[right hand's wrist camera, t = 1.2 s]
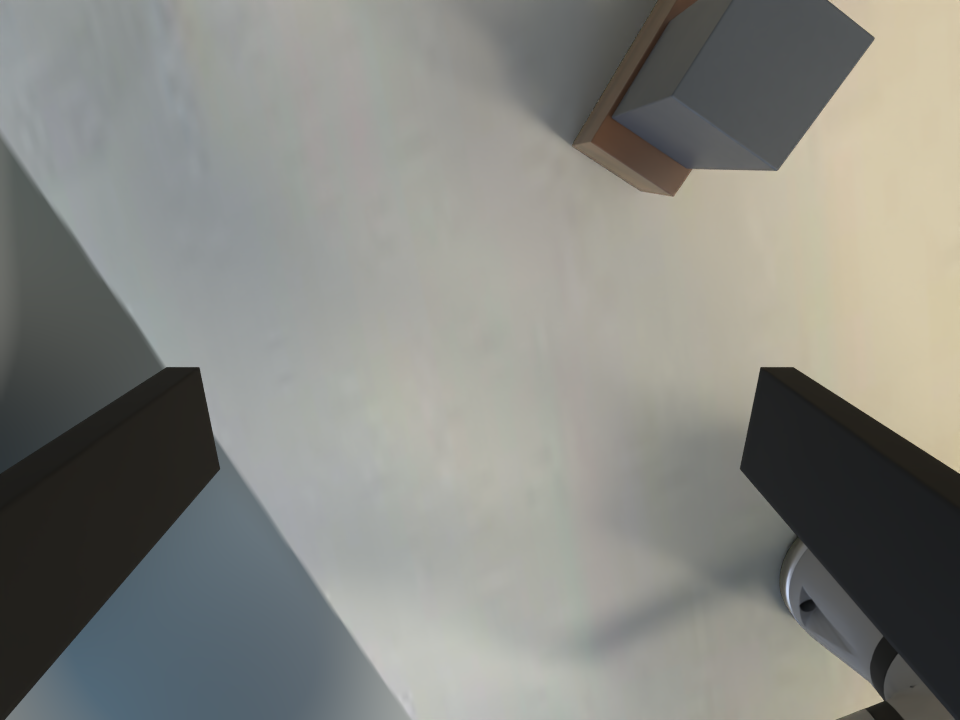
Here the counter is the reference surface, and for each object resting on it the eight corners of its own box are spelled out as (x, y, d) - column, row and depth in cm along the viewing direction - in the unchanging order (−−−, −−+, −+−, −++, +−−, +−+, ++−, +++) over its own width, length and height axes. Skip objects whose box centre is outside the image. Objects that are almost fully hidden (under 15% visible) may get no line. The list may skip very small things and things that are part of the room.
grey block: (748, 78, 26) (876, 37, 18) (687, 169, 28) (778, 171, 19) (669, 20, 25) (765, -52, 17) (610, 117, 27) (670, 96, 18)
